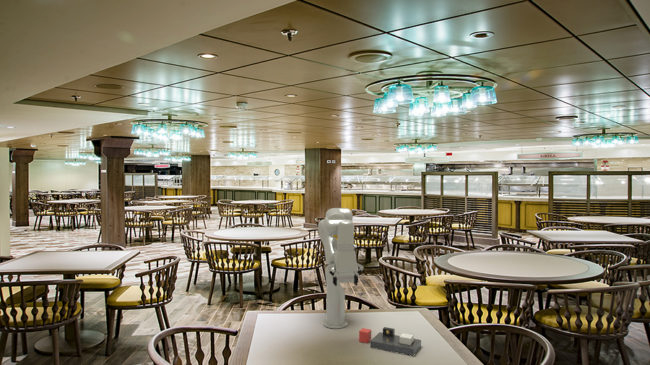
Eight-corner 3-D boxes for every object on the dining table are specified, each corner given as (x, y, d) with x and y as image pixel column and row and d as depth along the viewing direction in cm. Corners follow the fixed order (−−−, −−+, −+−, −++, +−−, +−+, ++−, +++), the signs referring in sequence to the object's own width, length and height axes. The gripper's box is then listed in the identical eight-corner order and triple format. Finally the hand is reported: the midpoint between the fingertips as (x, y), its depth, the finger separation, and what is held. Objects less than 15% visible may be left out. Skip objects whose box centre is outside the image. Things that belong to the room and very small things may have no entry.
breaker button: (402, 339, 194) (402, 332, 194) (413, 341, 192) (413, 334, 192) (399, 343, 190) (399, 336, 190) (410, 345, 188) (410, 338, 188)
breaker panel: (379, 338, 203) (379, 325, 203) (421, 346, 194) (421, 333, 194) (370, 347, 193) (370, 334, 193) (413, 356, 183) (413, 342, 183)
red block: (362, 338, 203) (362, 328, 203) (371, 340, 201) (371, 329, 201) (359, 341, 199) (359, 331, 199) (367, 343, 197) (367, 332, 197)
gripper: (361, 246, 203) (361, 282, 202) (325, 247, 199) (325, 283, 199) (365, 248, 195) (365, 285, 195) (329, 249, 192) (328, 287, 192)
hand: (345, 284), depth 197 cm, fingers open, 9 cm apart
